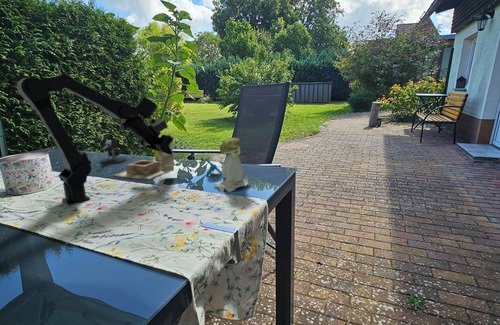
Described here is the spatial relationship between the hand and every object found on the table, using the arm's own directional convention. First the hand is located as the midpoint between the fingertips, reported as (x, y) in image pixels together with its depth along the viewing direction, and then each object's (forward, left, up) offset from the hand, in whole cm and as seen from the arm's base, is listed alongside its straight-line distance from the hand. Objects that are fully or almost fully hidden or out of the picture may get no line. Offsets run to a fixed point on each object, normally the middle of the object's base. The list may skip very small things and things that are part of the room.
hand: (168, 153), depth 115 cm
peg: (0, +1, -7) cm, 7 cm away
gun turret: (+45, +5, -10) cm, 47 cm away
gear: (-12, -14, -10) cm, 21 cm away
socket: (+14, +4, -10) cm, 18 cm away
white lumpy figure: (-28, -9, -10) cm, 31 cm away
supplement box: (+30, -15, -10) cm, 35 cm away
